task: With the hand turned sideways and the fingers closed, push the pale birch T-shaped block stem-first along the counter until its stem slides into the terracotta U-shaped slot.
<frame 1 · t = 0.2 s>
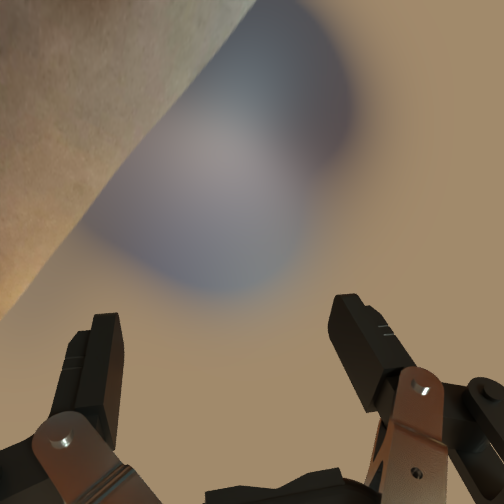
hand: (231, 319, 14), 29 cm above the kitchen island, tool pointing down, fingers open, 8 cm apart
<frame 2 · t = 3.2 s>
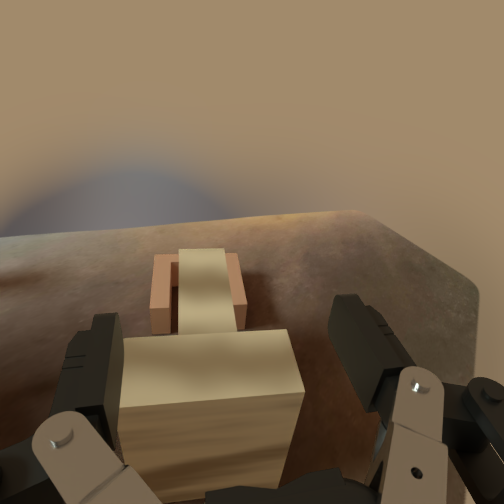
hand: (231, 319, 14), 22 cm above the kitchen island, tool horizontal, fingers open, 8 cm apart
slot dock: (198, 307, 46), on the kitchen island
t block: (203, 408, 35), on the kitchen island
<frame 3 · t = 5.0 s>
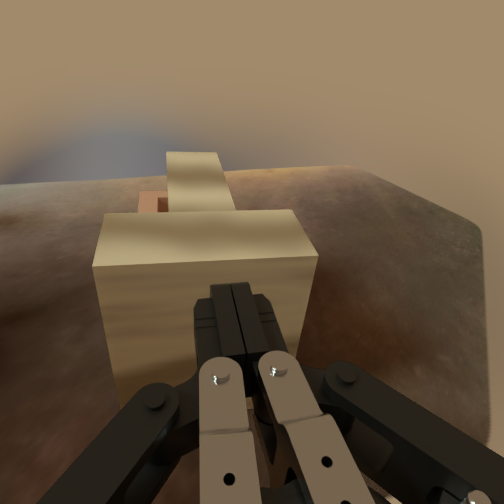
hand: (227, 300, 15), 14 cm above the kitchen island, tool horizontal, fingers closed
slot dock: (188, 244, 42), on the kitchen island
t block: (198, 333, 31), on the kitchen island
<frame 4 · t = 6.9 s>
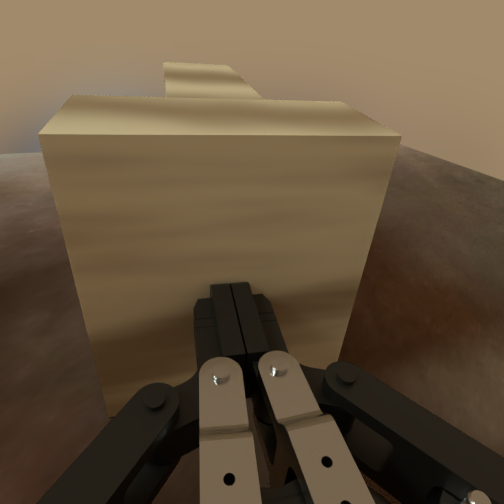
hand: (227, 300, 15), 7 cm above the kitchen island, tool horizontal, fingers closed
t block: (209, 300, 24), on the kitchen island, touching gripper
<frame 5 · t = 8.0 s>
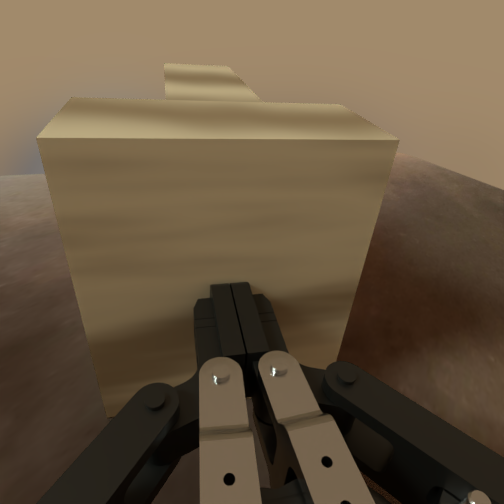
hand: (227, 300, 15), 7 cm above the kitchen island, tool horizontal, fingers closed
t block: (208, 301, 25), on the kitchen island, touching gripper
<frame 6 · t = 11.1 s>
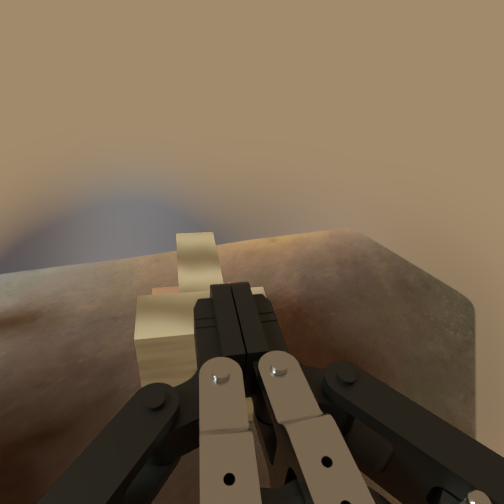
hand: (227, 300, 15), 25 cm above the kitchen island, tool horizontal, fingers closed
t block: (201, 365, 42), on the kitchen island
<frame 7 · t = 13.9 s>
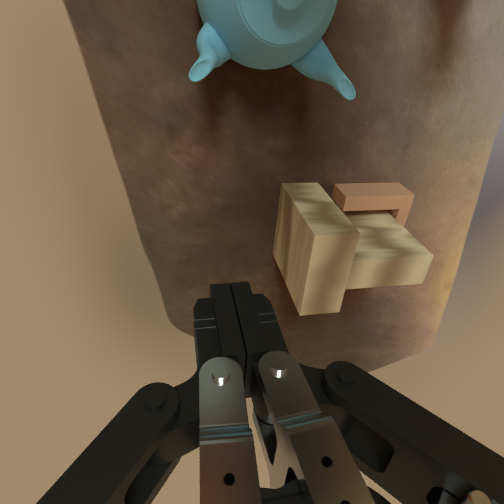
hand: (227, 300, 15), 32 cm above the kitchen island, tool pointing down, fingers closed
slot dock: (353, 217, 53), on the kitchen island
teapot: (267, 1, 37), on the kitchen island
t block: (328, 218, 53), on the kitchen island
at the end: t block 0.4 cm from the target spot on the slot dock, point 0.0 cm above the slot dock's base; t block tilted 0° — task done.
